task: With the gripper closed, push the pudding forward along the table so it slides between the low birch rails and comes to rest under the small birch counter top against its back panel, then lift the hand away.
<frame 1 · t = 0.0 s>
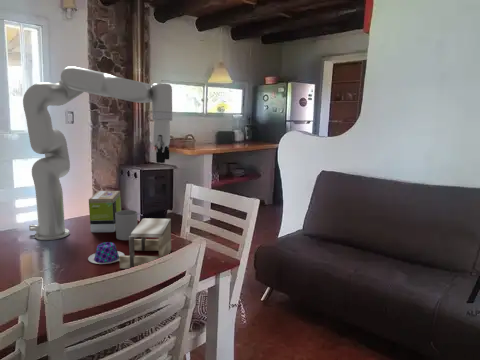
hand: (163, 160, 151), 31 cm above the table, tool pointing down, fingers open, 9 cm apart
counter: (147, 258, 134), on the table
cup: (127, 237, 156), on the table
pudding: (106, 259, 134), on the table
tea box: (106, 227, 168), on the table
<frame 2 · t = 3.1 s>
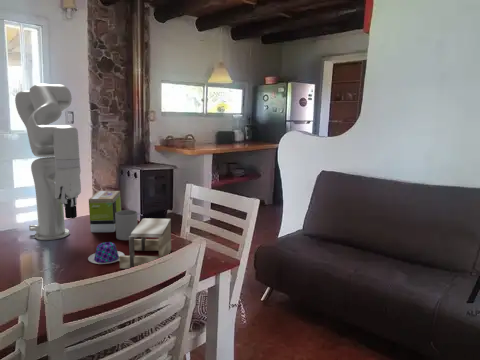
hand: (71, 217, 131), 14 cm above the table, tool pointing down, fingers closed
nothing on the table moved.
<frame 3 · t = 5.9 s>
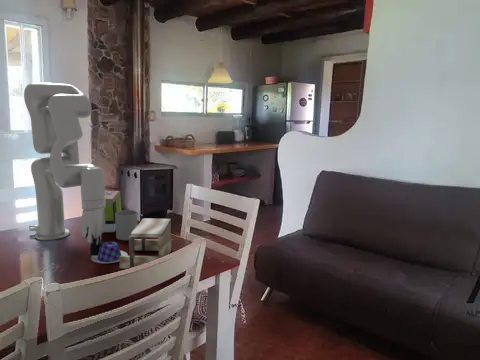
hand: (96, 254, 134), 1 cm above the table, tool pointing down, fingers closed
pudding: (109, 258, 134), on the table, touching gripper
everything else where it was.
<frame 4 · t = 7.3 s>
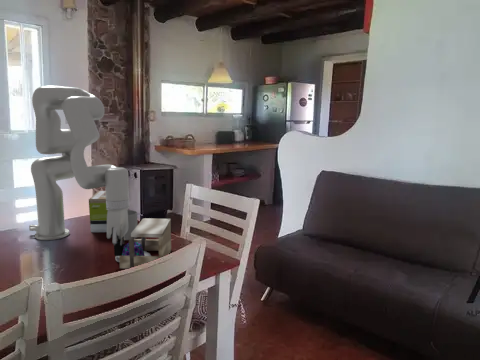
hand: (119, 255, 134), 1 cm above the table, tool pointing down, fingers closed
pudding: (133, 259, 134), on the table
everything else where it was.
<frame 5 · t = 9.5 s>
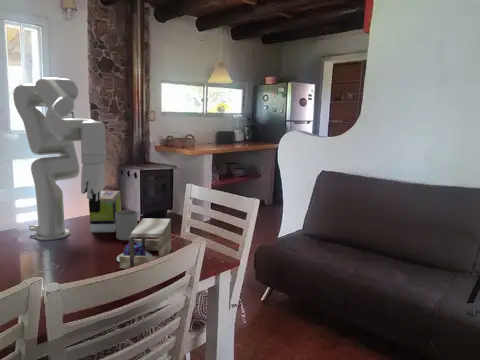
hand: (94, 211, 131), 16 cm above the table, tool pointing down, fingers closed
nothing on the table moved.
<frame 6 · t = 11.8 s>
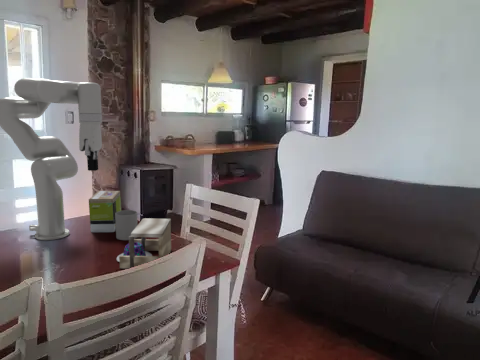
hand: (93, 170, 139), 29 cm above the table, tool pointing down, fingers closed
nothing on the table moved.
at the end: pudding 2.7 cm from the target spot on the counter, point -0.5 cm above the counter's base; pudding tilted 0° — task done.
